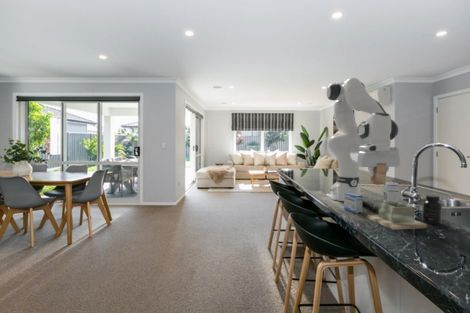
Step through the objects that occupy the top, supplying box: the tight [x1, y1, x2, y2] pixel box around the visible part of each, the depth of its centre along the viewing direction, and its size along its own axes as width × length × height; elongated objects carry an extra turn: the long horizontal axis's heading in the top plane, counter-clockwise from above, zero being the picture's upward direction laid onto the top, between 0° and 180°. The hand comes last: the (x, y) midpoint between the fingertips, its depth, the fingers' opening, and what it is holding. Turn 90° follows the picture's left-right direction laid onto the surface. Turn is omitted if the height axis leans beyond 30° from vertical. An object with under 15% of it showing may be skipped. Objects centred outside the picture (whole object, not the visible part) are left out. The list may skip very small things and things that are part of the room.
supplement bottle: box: [422, 194, 443, 225], centre depth 120 cm, size 7×7×12 cm
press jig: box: [366, 201, 428, 231], centre depth 119 cm, size 16×16×8 cm
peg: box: [370, 163, 387, 186], centre depth 128 cm, size 4×4×10 cm
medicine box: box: [343, 193, 364, 214], centre depth 138 cm, size 8×4×9 cm, turn 23°
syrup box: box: [382, 181, 400, 203], centre depth 139 cm, size 6×6×14 cm
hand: (377, 176), depth 129 cm, fingers closed on peg, 4 cm apart
